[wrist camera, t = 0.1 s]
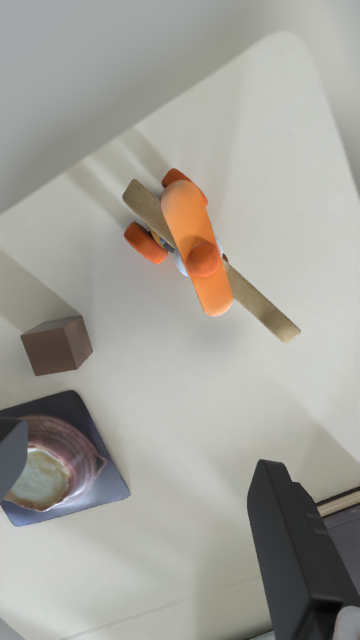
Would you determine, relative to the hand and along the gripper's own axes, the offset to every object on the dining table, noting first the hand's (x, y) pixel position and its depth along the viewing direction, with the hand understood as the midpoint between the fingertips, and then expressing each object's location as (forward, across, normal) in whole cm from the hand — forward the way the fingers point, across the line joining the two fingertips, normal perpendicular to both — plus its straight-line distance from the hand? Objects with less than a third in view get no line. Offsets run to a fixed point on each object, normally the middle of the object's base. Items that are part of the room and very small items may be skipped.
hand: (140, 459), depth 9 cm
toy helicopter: (+24, -3, -6) cm, 25 cm away
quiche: (+24, +16, +28) cm, 40 cm away
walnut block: (+24, +13, +7) cm, 28 cm away
